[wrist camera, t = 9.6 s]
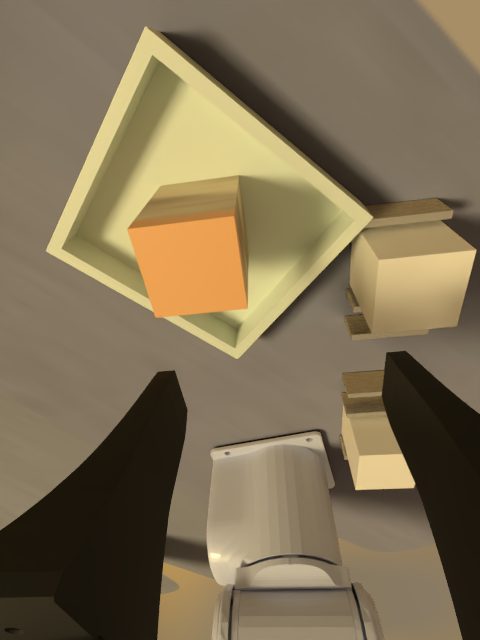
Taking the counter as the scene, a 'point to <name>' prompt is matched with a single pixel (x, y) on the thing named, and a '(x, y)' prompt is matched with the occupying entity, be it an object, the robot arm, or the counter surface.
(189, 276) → the wooden block
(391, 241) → the block
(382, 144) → the counter surface
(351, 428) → the beige small block
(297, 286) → the tray
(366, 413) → the clip holder
